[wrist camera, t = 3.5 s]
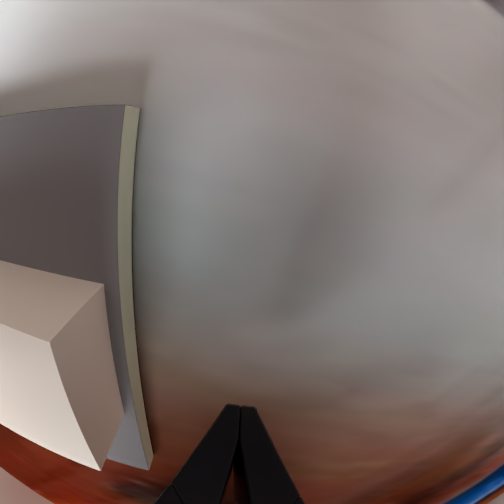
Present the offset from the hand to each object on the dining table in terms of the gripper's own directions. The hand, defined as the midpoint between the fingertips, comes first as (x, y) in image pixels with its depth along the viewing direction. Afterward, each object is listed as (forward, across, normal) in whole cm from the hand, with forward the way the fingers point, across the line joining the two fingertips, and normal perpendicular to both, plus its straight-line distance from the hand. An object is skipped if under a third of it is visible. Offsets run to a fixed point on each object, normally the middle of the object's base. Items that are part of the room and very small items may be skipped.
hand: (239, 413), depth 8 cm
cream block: (+1, +7, 0) cm, 7 cm away
